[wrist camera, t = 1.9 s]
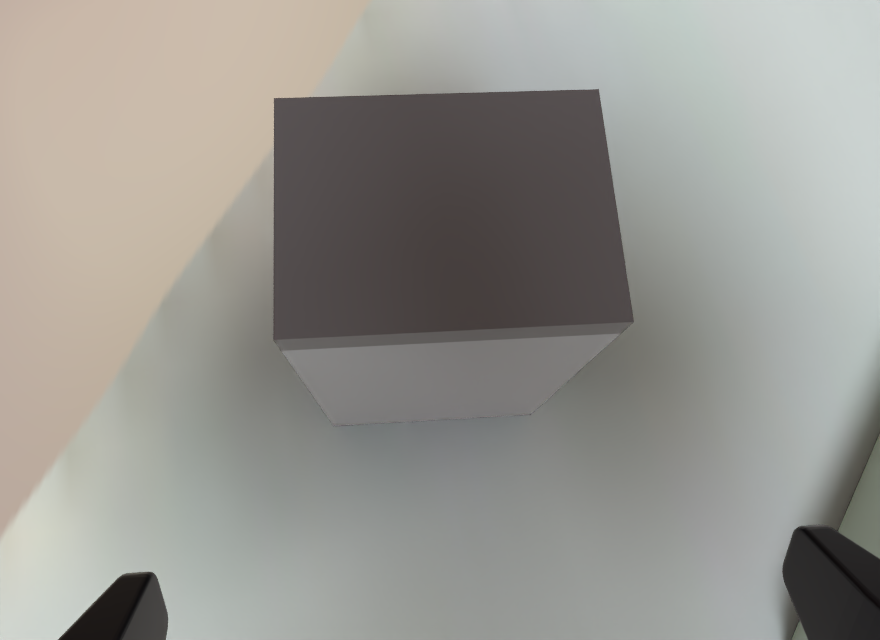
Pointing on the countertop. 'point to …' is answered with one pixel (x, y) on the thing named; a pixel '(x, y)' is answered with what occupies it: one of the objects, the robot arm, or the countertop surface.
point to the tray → (861, 515)
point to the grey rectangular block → (444, 250)
